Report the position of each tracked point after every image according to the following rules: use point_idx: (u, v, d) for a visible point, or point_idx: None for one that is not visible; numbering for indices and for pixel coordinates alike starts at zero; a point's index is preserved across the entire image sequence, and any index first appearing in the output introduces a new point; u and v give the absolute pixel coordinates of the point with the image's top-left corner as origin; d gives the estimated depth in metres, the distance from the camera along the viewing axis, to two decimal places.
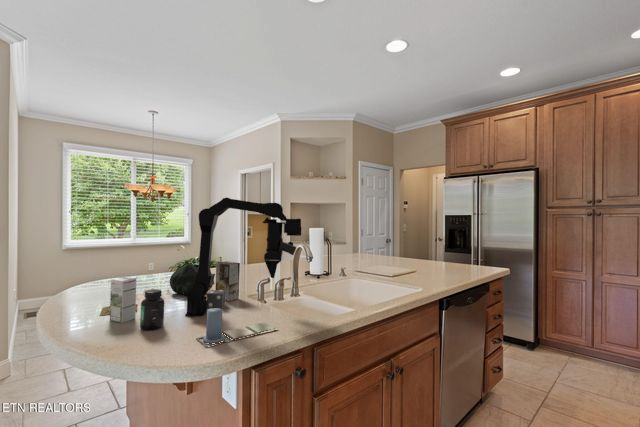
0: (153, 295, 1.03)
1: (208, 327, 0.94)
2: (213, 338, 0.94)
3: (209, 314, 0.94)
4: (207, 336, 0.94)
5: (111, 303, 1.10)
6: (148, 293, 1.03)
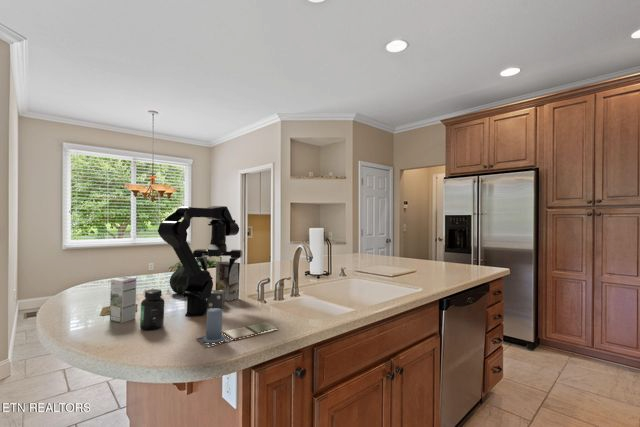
0: (153, 295, 1.03)
1: (208, 327, 0.94)
2: (213, 338, 0.94)
3: (209, 315, 0.94)
4: (207, 336, 0.94)
5: (111, 303, 1.10)
6: (148, 293, 1.03)
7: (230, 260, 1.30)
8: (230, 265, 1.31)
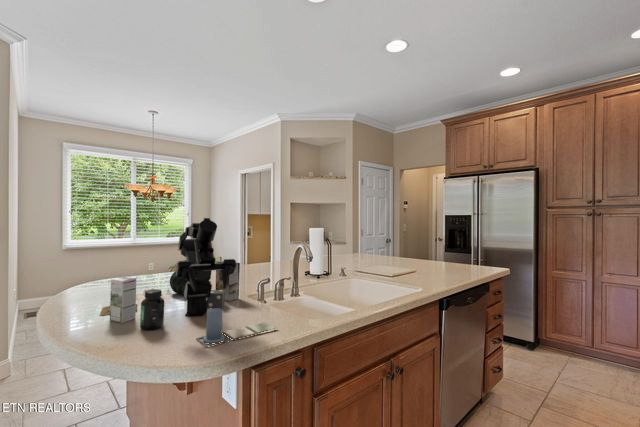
0: (153, 295, 1.03)
1: (208, 327, 0.94)
2: (213, 338, 0.94)
3: (209, 315, 0.94)
4: (207, 336, 0.94)
5: (111, 303, 1.10)
6: (148, 293, 1.03)
7: None
8: None
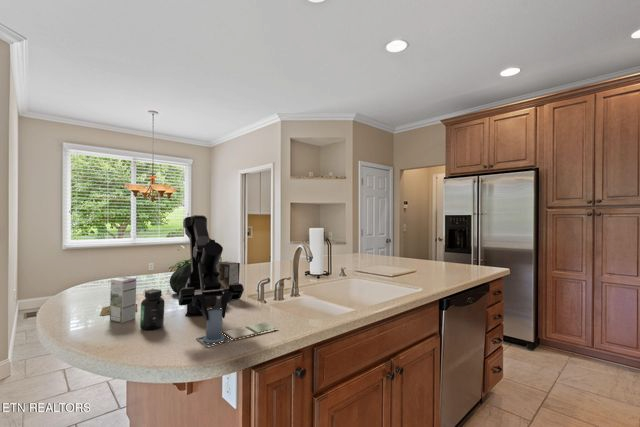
0: (153, 295, 1.03)
1: (208, 327, 0.94)
2: (213, 338, 0.94)
3: (209, 314, 0.94)
4: (207, 336, 0.94)
5: (111, 303, 1.10)
6: (148, 293, 1.03)
7: None
8: None
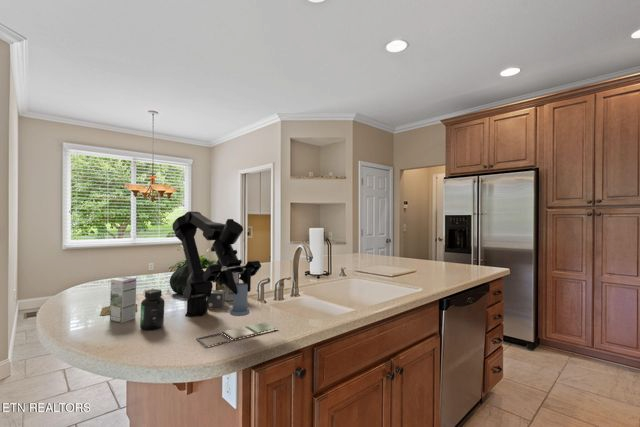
0: (153, 295, 1.03)
1: (236, 300, 0.99)
2: (242, 310, 0.99)
3: (237, 288, 0.99)
4: (235, 309, 0.99)
5: (111, 303, 1.10)
6: (148, 293, 1.03)
7: None
8: None
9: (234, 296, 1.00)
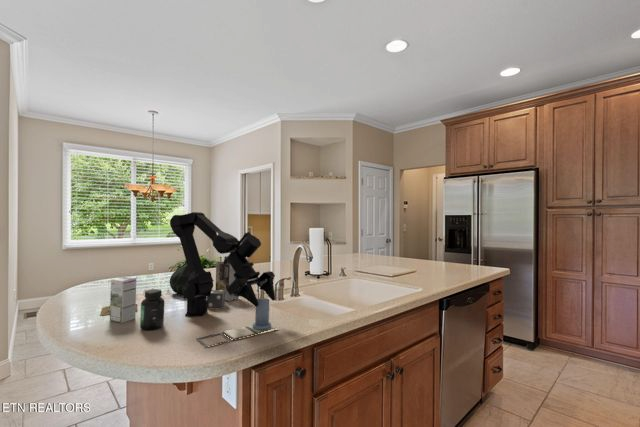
0: (153, 295, 1.03)
1: (261, 315, 1.04)
2: (265, 324, 1.05)
3: (261, 304, 1.04)
4: (259, 323, 1.04)
5: (111, 303, 1.10)
6: (148, 293, 1.03)
7: None
8: None
9: (258, 311, 1.05)
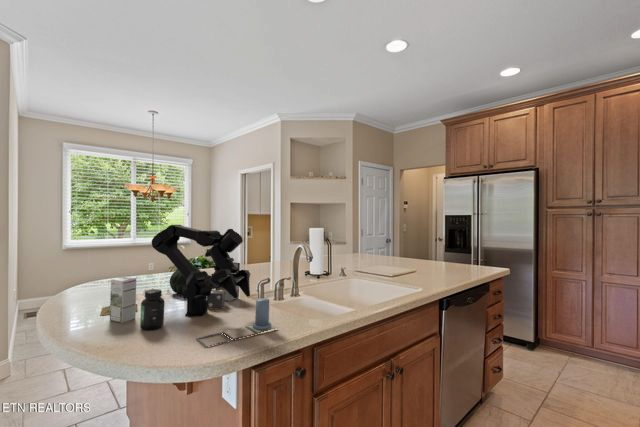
0: (153, 295, 1.03)
1: (261, 315, 1.04)
2: (265, 324, 1.05)
3: (261, 304, 1.04)
4: (259, 323, 1.04)
5: (111, 303, 1.10)
6: (148, 293, 1.03)
7: None
8: None
9: (258, 311, 1.05)
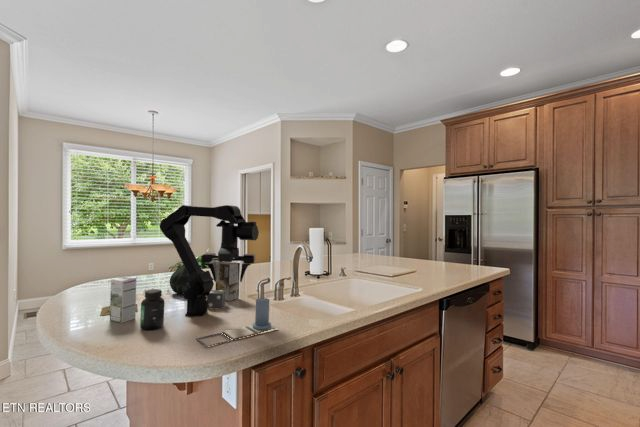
0: (153, 295, 1.03)
1: (261, 315, 1.04)
2: (265, 324, 1.05)
3: (261, 304, 1.04)
4: (259, 323, 1.04)
5: (111, 303, 1.10)
6: (148, 293, 1.03)
7: (243, 266, 1.17)
8: (242, 271, 1.18)
9: (258, 311, 1.05)
